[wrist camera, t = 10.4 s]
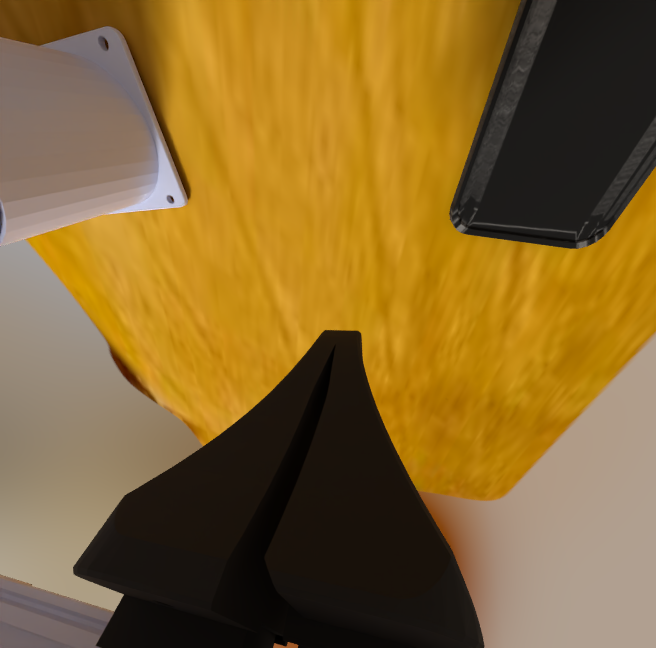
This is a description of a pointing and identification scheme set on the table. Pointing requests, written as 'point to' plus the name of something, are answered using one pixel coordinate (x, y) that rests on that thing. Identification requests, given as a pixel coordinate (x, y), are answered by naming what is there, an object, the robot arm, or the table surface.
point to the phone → (564, 125)
